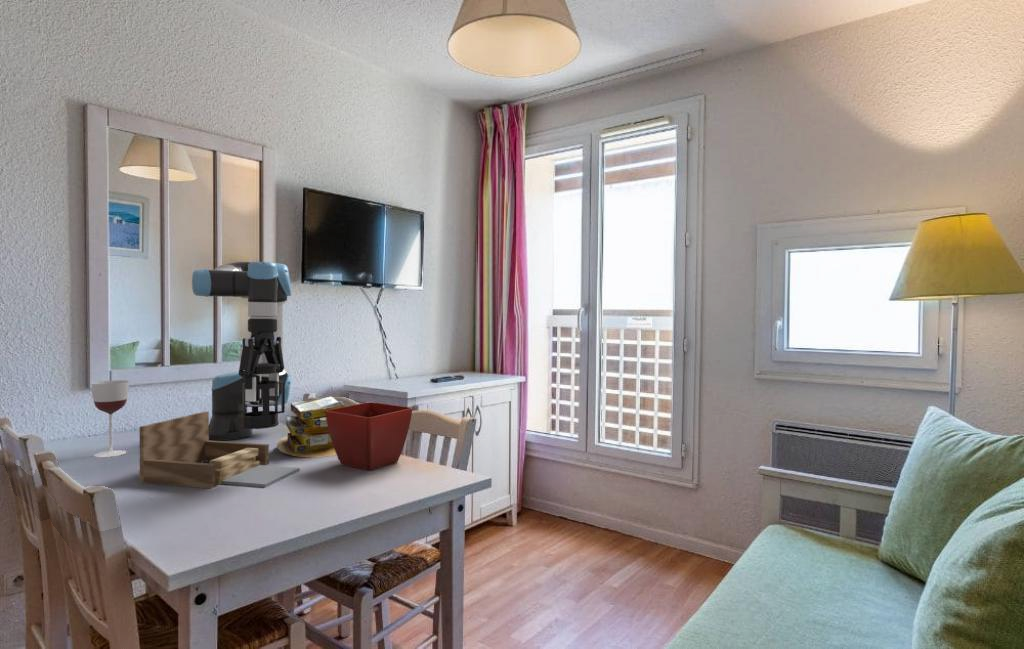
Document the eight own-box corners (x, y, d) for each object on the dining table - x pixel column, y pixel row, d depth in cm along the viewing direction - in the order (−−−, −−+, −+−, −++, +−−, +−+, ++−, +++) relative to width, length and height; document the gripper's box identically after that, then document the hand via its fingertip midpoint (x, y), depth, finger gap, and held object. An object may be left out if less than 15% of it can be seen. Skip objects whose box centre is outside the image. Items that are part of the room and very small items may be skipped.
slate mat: (260, 467, 166) (260, 464, 166) (299, 470, 163) (299, 467, 163) (221, 483, 150) (221, 480, 150) (265, 487, 147) (265, 484, 147)
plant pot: (368, 476, 159) (368, 416, 158) (323, 465, 169) (323, 410, 168) (413, 461, 175) (414, 407, 174) (370, 452, 185) (370, 401, 185)
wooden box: (205, 459, 174) (205, 411, 174) (268, 464, 170) (268, 414, 169) (139, 482, 151) (139, 426, 150) (211, 488, 146) (211, 431, 146)
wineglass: (84, 455, 177) (84, 383, 176) (117, 448, 186) (117, 379, 186) (103, 458, 173) (103, 384, 173) (136, 451, 183) (135, 381, 182)
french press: (245, 430, 149) (245, 344, 148) (234, 425, 156) (234, 342, 155) (289, 425, 157) (290, 343, 156) (277, 420, 164) (277, 341, 163)
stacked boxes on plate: (359, 453, 184) (360, 402, 184) (278, 460, 174) (278, 407, 173) (349, 437, 206) (349, 392, 206) (276, 443, 196) (276, 395, 196)
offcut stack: (246, 466, 168) (246, 446, 167) (260, 467, 167) (260, 447, 167) (203, 485, 150) (203, 462, 149) (219, 486, 149) (219, 463, 149)
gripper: (274, 317, 167) (274, 392, 168) (222, 318, 146) (222, 403, 146) (297, 317, 166) (297, 393, 166) (248, 318, 144) (248, 405, 144)
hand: (262, 398), depth 156 cm, fingers closed on french press, 9 cm apart
